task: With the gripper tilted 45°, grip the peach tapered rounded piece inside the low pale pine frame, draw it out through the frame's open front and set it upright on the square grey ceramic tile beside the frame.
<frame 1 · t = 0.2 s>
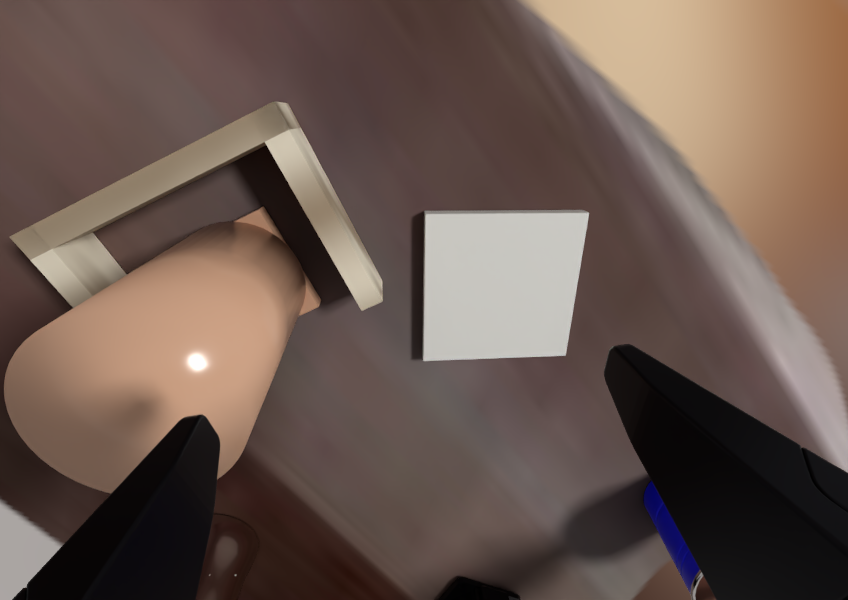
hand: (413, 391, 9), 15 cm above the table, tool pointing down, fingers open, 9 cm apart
peach tapered rounded piece: (206, 325, 18), in the frame
beer glass: (217, 540, 32), on the table
frame: (246, 277, 24), on the table
tile: (498, 285, 26), on the table
hyacinth: (672, 494, 34), on the table
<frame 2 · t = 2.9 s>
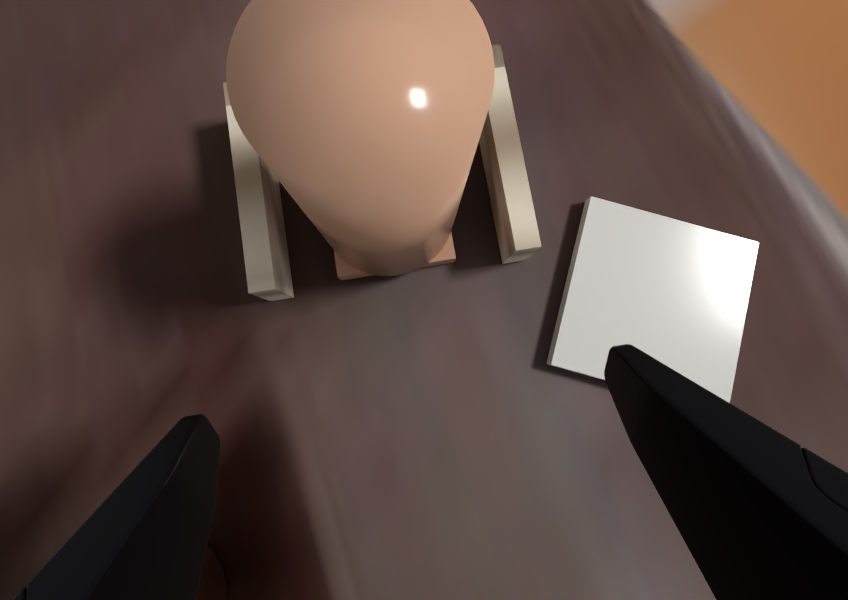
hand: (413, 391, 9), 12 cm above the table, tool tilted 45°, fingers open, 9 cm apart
peach tapered rounded piece: (380, 168, 17), in the frame
beer glass: (165, 592, 20), on the table
frame: (388, 216, 23), on the table
tile: (648, 303, 22), on the table
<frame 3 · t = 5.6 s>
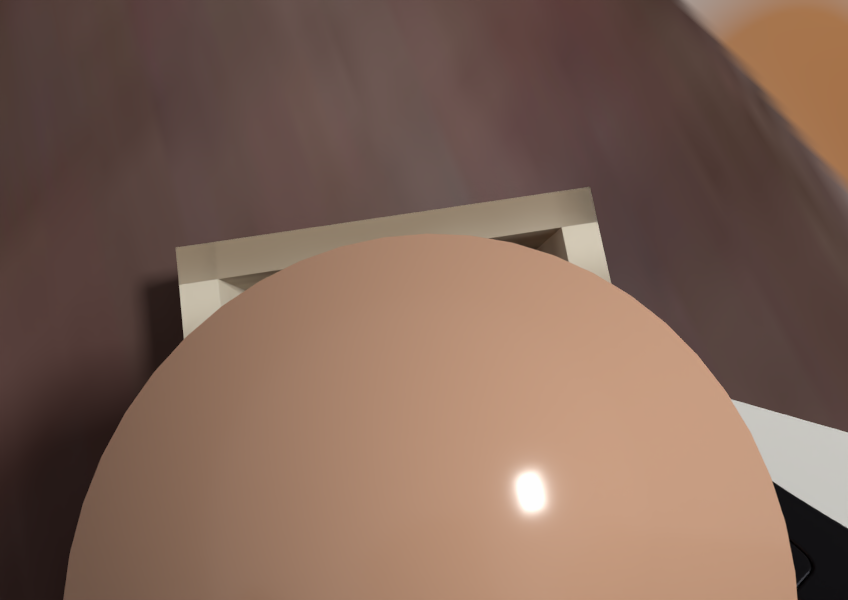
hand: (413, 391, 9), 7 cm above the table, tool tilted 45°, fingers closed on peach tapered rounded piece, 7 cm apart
peach tapered rounded piece: (422, 450, 10), in the frame, touching gripper
frame: (419, 415, 16), on the table
tile: (794, 547, 16), on the table
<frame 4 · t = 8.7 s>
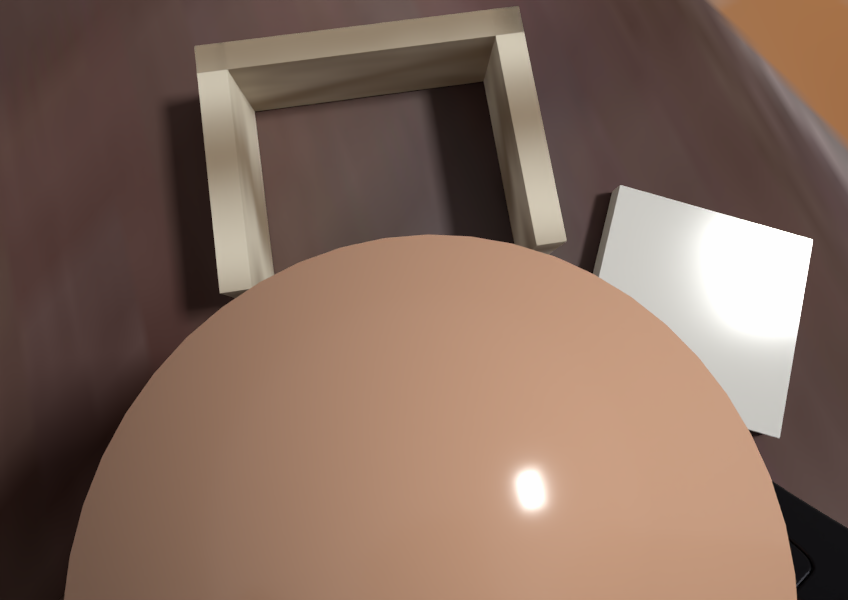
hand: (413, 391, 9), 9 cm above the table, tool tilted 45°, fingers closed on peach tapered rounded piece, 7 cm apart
peach tapered rounded piece: (422, 450, 10), point 9 cm above the table, touching gripper
frame: (387, 206, 20), on the table
tile: (685, 309, 20), on the table
when the fingers open (8 cm above the table, at t = 12.2 s): peach tapered rounded piece stays where it is, resting on tile.
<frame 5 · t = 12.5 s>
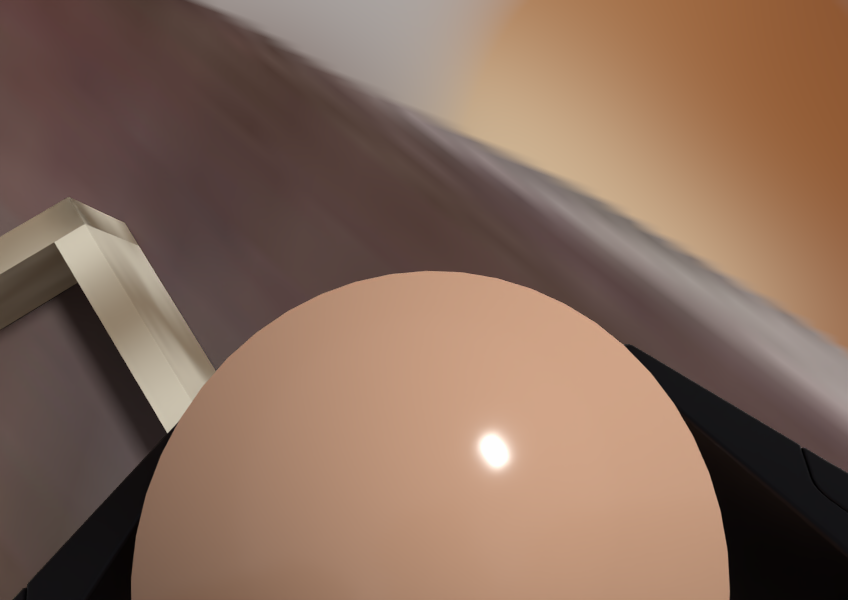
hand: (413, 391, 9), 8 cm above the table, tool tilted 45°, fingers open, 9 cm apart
peach tapered rounded piece: (422, 450, 11), on the tile, point 7 cm above the table
frame: (57, 448, 17), on the table
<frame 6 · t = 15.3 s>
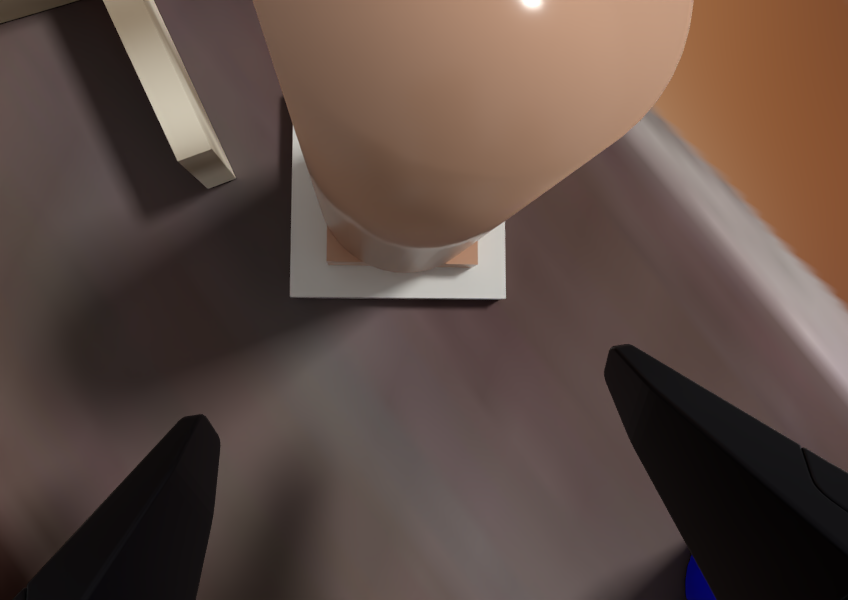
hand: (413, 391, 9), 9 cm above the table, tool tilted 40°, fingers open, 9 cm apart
peach tapered rounded piece: (422, 132, 12), on the tile, point 7 cm above the table
frame: (32, 159, 17), on the table
tile: (400, 197, 19), on the table
hyacinth: (732, 594, 20), on the table
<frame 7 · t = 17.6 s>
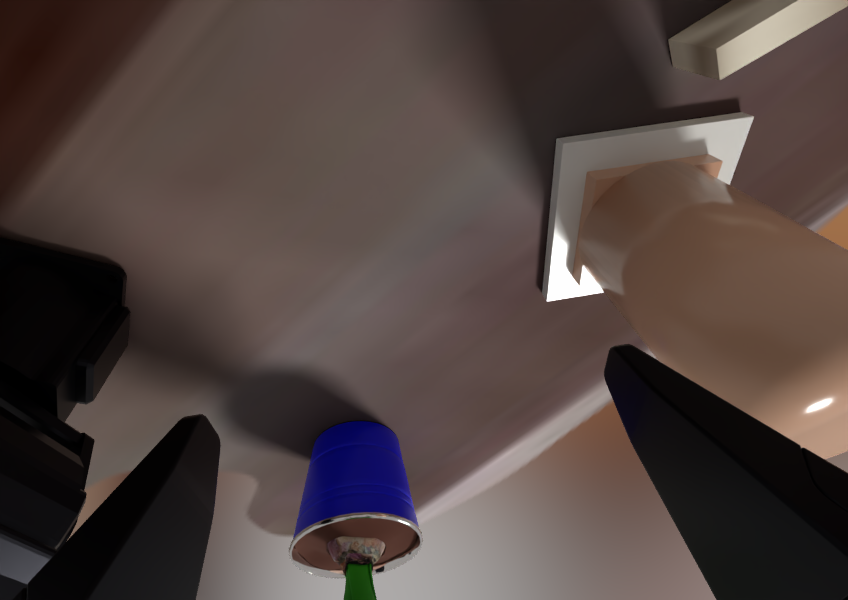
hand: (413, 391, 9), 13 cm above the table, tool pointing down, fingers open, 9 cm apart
peach tapered rounded piece: (712, 286, 17), on the tile, point 7 cm above the table
tile: (630, 212, 23), on the table
hyacinth: (347, 443, 32), on the table
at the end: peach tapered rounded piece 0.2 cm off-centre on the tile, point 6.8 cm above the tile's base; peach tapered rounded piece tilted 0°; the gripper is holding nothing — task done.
